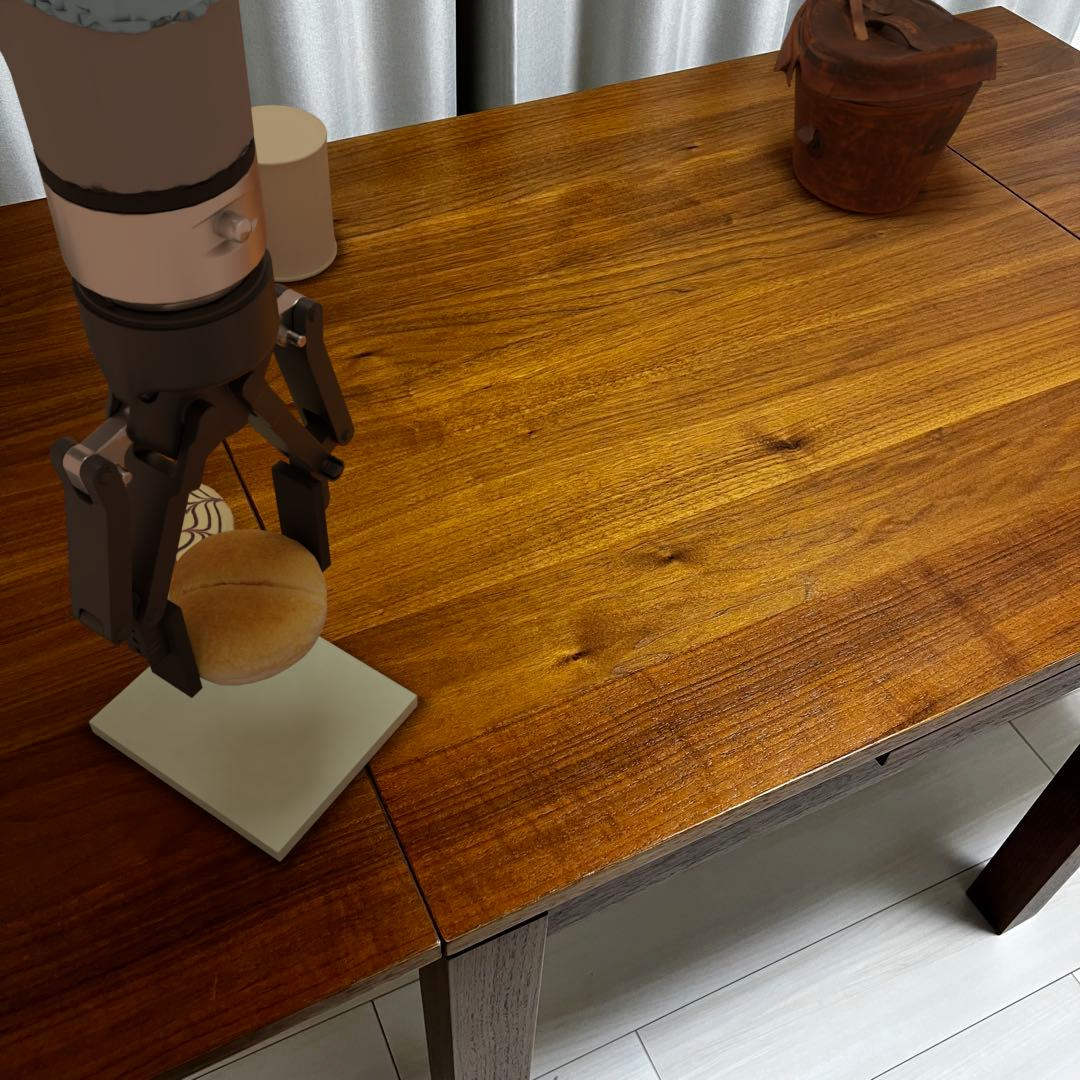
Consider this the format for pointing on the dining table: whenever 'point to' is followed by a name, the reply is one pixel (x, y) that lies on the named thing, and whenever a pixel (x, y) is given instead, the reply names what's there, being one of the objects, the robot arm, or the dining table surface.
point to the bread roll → (249, 604)
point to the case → (879, 95)
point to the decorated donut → (203, 518)
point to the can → (295, 190)
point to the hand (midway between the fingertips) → (245, 616)
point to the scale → (261, 740)
